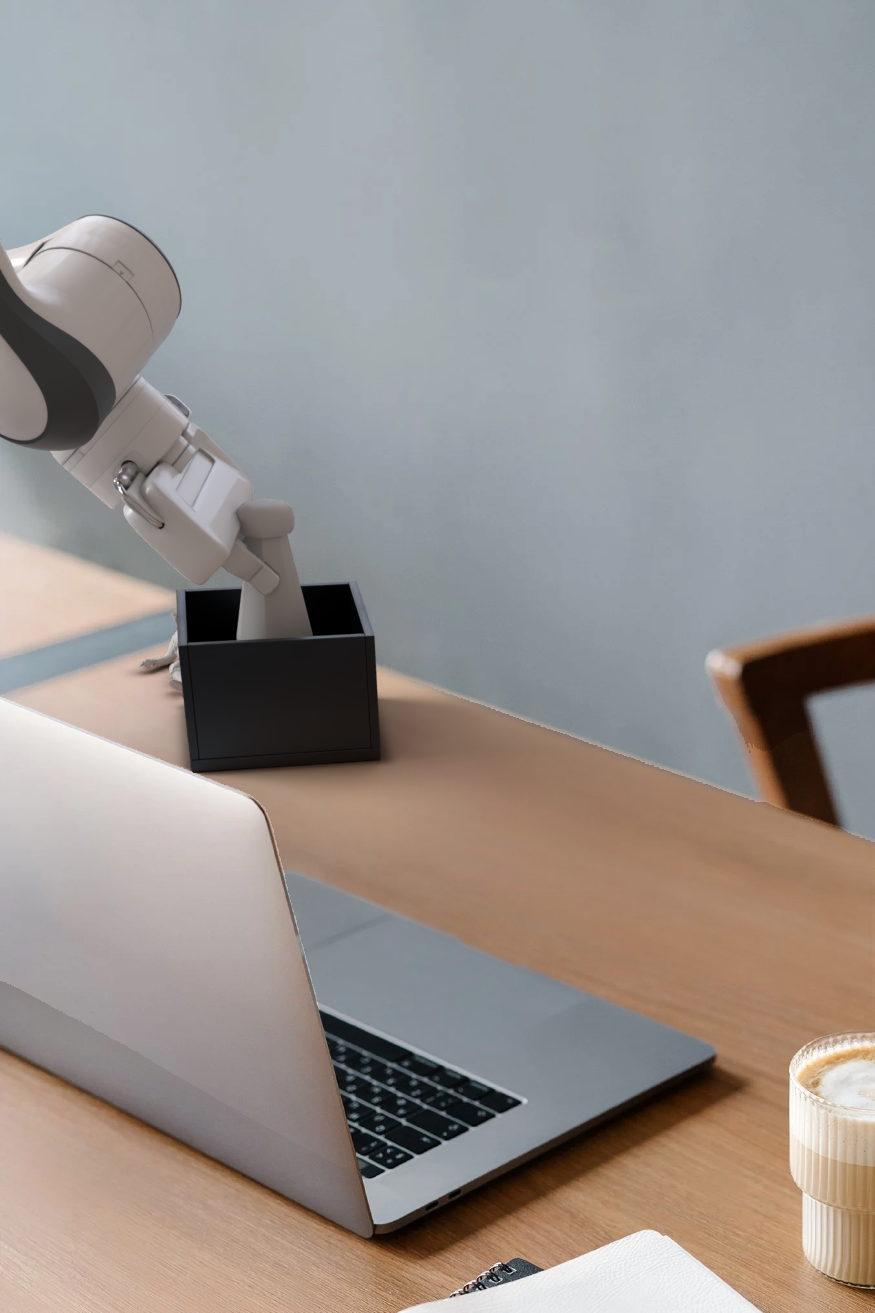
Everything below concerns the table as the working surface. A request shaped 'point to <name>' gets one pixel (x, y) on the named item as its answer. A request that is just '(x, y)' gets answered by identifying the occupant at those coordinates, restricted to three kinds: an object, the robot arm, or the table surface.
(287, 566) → the salt shaker
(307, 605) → the waste bin
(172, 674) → the soldier figure
